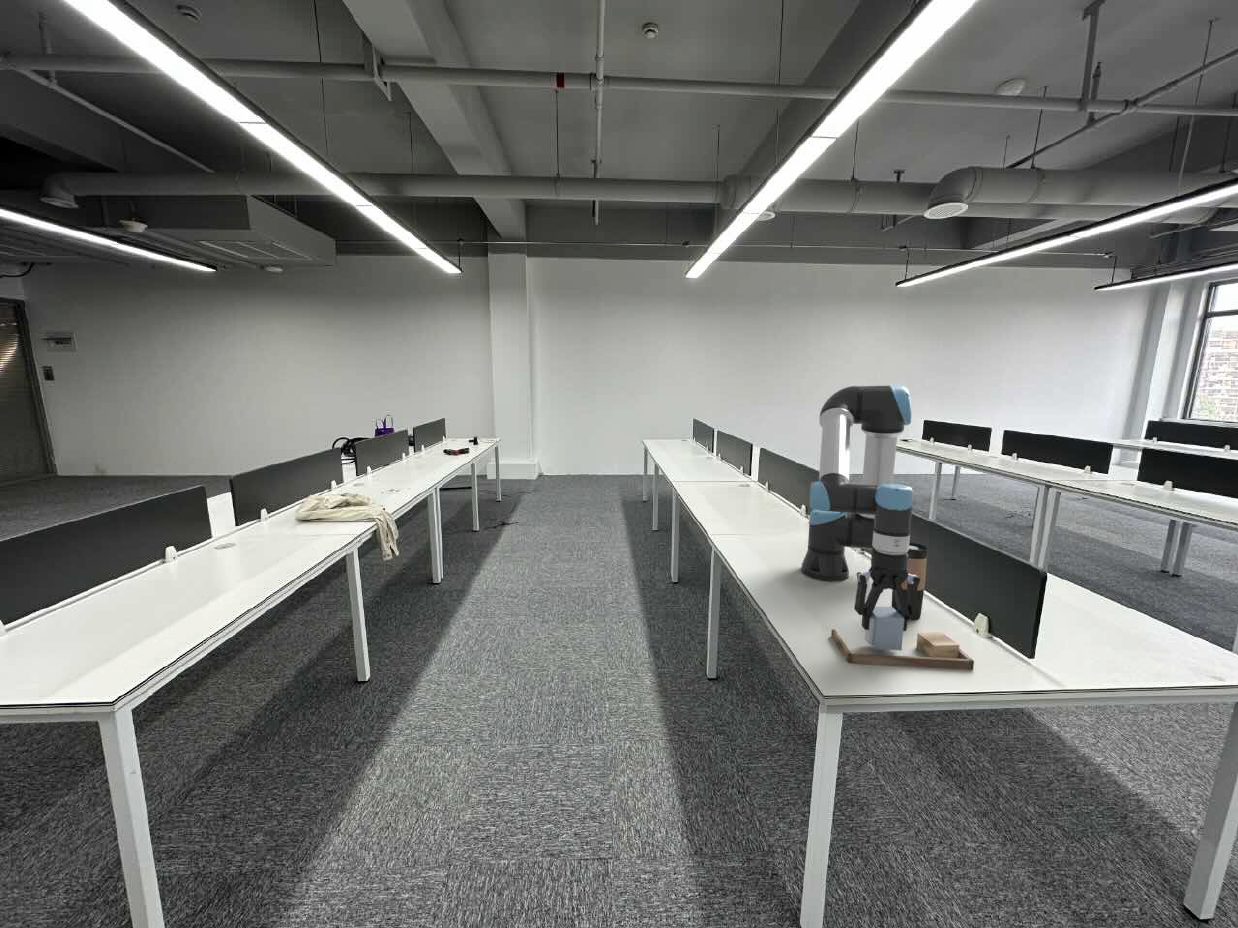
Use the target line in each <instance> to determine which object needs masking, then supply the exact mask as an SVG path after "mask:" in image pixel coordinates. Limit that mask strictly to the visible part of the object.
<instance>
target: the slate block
mask: <svg viewBox="0 0 1238 928" xmlns="http://www.w3.org/2000/svg"><path fill="white" fill-rule="evenodd" d="M871 616H872V617H873V618H874V626H873V639H872V644H870V645H871V646H872V647H873V648H874V649H875V650H883V651H884V650H887V651H902V649H903V638H904V637H903V636H904V631H903V627H904V618H903V617H902V616H901V615H900V614H899V613H898V612H897V611H896V610H895V609H894V608H893V607H892V606H875V608H874V610H873V613H872V615H871Z"/></svg>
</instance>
